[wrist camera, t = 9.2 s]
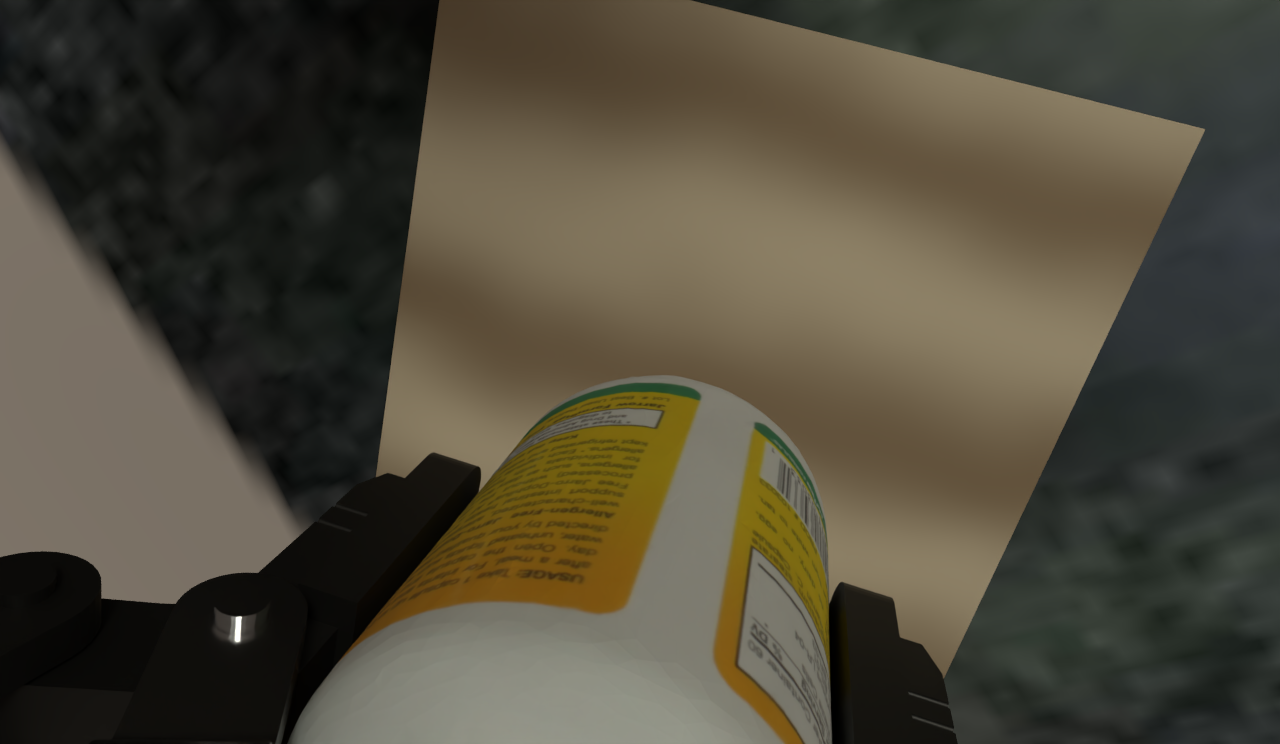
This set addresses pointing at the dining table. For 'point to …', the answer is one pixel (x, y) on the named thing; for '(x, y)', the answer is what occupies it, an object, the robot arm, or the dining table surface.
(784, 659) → the supplement bottle
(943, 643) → the birch plinth
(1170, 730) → the dining table surface
